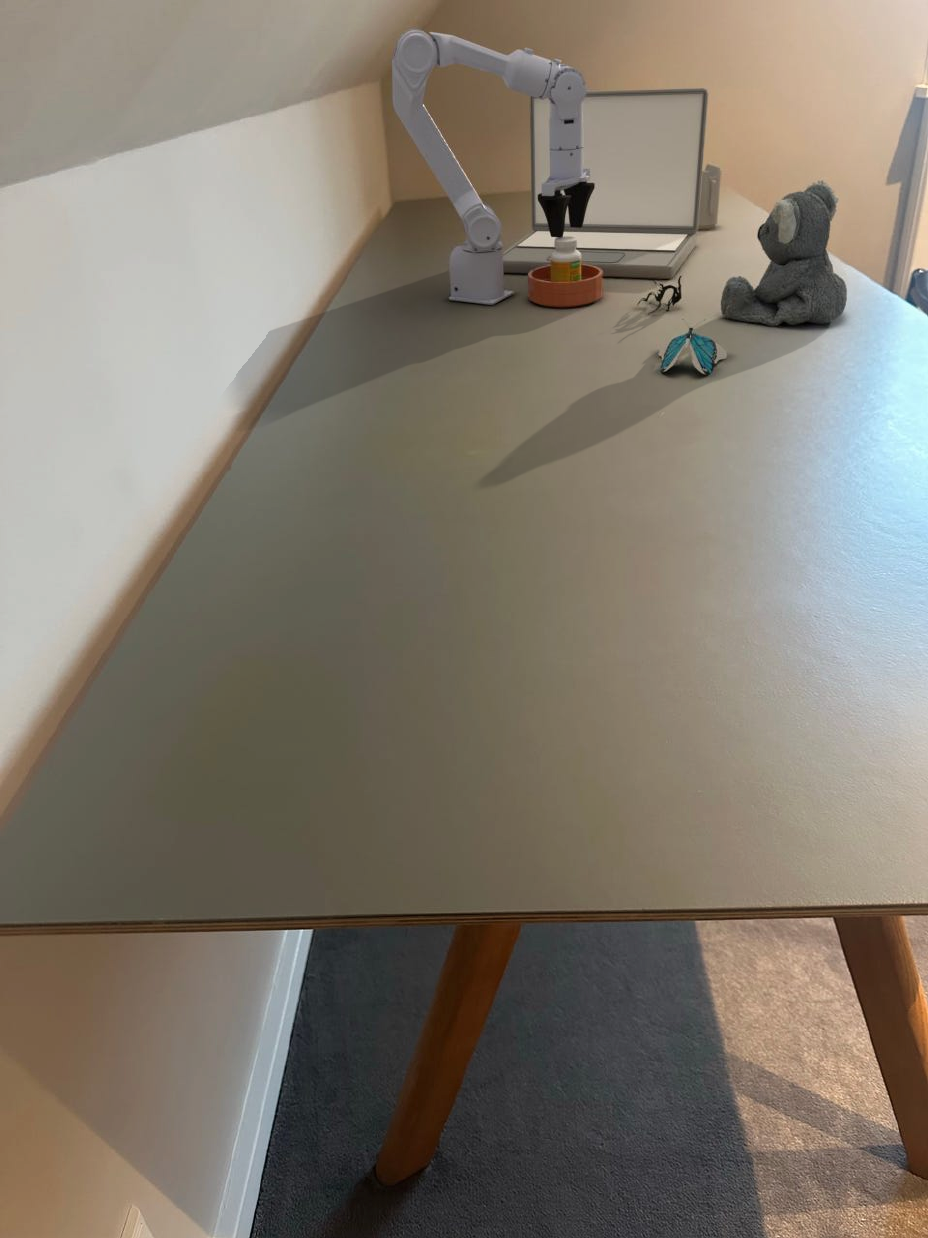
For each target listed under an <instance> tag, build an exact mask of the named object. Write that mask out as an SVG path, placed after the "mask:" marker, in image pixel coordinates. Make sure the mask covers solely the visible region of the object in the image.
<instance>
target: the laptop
mask: <svg viewBox="0 0 928 1238" xmlns="http://www.w3.org/2000/svg"><path fill="white" fill-rule="evenodd" d="M529 96H530V95H529ZM708 101H709V91H708V89H707V88H704V87H693V88H691V87H690V88H661V89H660V88H659V89H658V88H657V89H623V90H620V89H619V90H618V89H617V90H590V91H589V90H587V93H586V96H585V98H584V100H583V101H582V105H583V110H582V116H583V169H590V180H589V181H587V183H595V188H594V190H593V192H592V194H591V196H590V199H589V202H588V205H587V208H586V213H585V217H584V222H583V226H582V228H573V227H570V222H569V213H568V206H567V210H566V216H565V227H564V234H563V237H576V238H577V248H576V250H578V251H579V252H580V253H581V264H587V265H592V266H596V267H598V268H601V270H602V271H603V278H605V277H607V278H629V279H631V278H633V279H657V280H659V279H662V280H670V279H672V278H673V277H674V276H675V274H676V273H677V272H678V270H679V269H680V268H681V266H682V265H683V263H685V260H686V259H688V257H689V255H690V254H691V252H692V251H693V250H694V248H696V242H697V241H696V240H697V236H696V234H697V232H698V230H699V229H698V222H699V209H700V196H701V183H702V171H704V170H703V169H704V155H705V144H706V143H705V141H706V131H707V118H708V117H707V116H708V104H709V102H708ZM550 102H551V101H550V100H549V98H546V99H544V100H542V99H539V98H536V97H533V96H530V97H529V133H530V135H529V136H530V137H529V138H530V143H529V144H530V197H531V198H530V199H531V200H530V201H531V203H530V204H531V205H530V207H531V208H530V209H531V229H532V231H530V232H529V233H527V234H526V235H525V236H523V237H522V238H521V239H519V240H518V241H516V242H515V243H513V244H512V245H511V246H509V247H508V248H507V249H506V250H503V272H504V274H525V275H526V274H527V275H528V273H529V272H530V271H531V270H533V269H535V268H539V267H542V266H547V265H551V254H552V253H553V252H554V251H556V249H555V246H554V243H555V239H556V238H558V237H551V235H550V231H549V227H548V223H547V219H546V216H545V213H544V211H543V209H542V207H541V205H540V203H539V201H538V194H540V193H542V183H544V182H545V181H546V180H547V179H548V178H549V176H550V141H549V118H550ZM561 193H562V195H565V193H564V190H562V191H561Z"/></svg>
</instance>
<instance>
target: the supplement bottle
mask: <svg viewBox="0 0 928 1238" xmlns="http://www.w3.org/2000/svg"><path fill="white" fill-rule="evenodd" d="M554 246H555V249H556V251H554V252H553V253H552V254H551V282H571V281H580V280H581V253H580V252H579V251H578V250H576V248H577V238H576V237H561V238H559V237H558V238H556V239H555V243H554Z"/></svg>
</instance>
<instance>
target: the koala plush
mask: <svg viewBox="0 0 928 1238" xmlns="http://www.w3.org/2000/svg"><path fill="white" fill-rule="evenodd" d="M838 203H839V197H837V195H836V194H835V190H834V189H832V187H831V186H830V185H829V184H828V183H827V182H825V181H824V180H820V179H819V180H817V183H816V182H812V184H810V185H807V187H806V188H805V190H803V191H802V190H799V191H794V192H791V193H788V194H786V195H785V196H783V197H782V198H781V199H779V200H777V201H776V202H775V204H774V205H773V207H772V211H771V212H770V213H769V215H768V217H767V218H766V220H765V222H764V223H762V224H761V225H760V226H759V228H758V230H757V235H756V236H757V237H756V238H757V240H758V242H759V243H760V246H761V248H762V251H763V252H764V254H765V255H766V257H767V258H768V259H769V260H770V262H769V264H768V266H767V268H766V269H765V272H764V274H762V277H761V279H760V281H759V282H758V285H757V286H756V287H755V288H754V286H753V285H752V284H751V283H750V281H749V280H748V279H747V278H746V277H744V276H741V275H739V276H732V277H729V278H728V280H727V281H726V283H725V285H724V287H723V290H722V293H721V299H720V311H721V314H722V315H723V316H725V318H727V319H731V320H736V321H739V322H745V323H756V324H763V325H767V326H769V327H775V326H777V327H778V326H779V325H781V324H783V323H786V324H788V325H790V326H795V325H800V324H803V323H805V322H806V323H810V324H817V325H818V324H819V325H820V324H822V325H824V324H827V323H828V324H829V323H830V322H832V321H834V320H835V319H837V318H838V317H840V316H841V315H842V314H843V313H844V311H845V309H846V305H847V300H848V296H847V295H848V288H847V284H846V281H844V279H843V278H842V277H840V275H839V274H837V273H835V272H834V265H833V264H832V261H831V260H830V256H829V253H828V251H827V247H828V244H829V240H830V235H831V234H830V231H831V222H833V219H834V217H835V216H836V212H837V204H838Z"/></svg>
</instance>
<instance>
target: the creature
mask: <svg viewBox="0 0 928 1238" xmlns="http://www.w3.org/2000/svg"><path fill="white" fill-rule="evenodd" d="M682 277H683V276H682V275H680V276H679V277H678V279H677V285H678V286H677V287H676V286H675V285H672V284H668V285H664V284H663V283H657V282H656V281H655V280H654V279H652V281H653V282H654V284H655V285H658V287H659V289H658V288H657V286H655V287H656V289H657V294H656V293H655V292H653V291H651V292H649V293H648V294H647V295H646V297H642V298H641V299H640V300H638V302H637V305H636V306H639V305H640V303H641V302H642V301H643V302H644V303H645V302H646V303H647V302H648V301H649V299H650V297H651V296H652V295H653V296H654V298H653V299H652V301H653V300H656V302H658V304H656V303H654V306H655V307H656V308H655V309H654V310H651V311H650V312H648V313H647V315H650V314H652V313H654V312H656V311H658V309H660V308H661V305H665V306H666V307H667V309H663V311H665V312H669V311H670V308H671V307H670V306H671V305H672V307H674V306H675V305H676V304H677V303H679V302H680V301H681V299H682V295H683V294H682V283H681V279H682ZM668 289H672V290H673V293H672V295H671V297H670V299H669V300H668V301H667V303H662V300H663V298H664V297H665V296H664V295H665V293H666V291H667V290H668ZM648 303H649V304H650V305H652V303H651V302H648ZM659 311H660V312H661V311H662V310H659Z"/></svg>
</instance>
